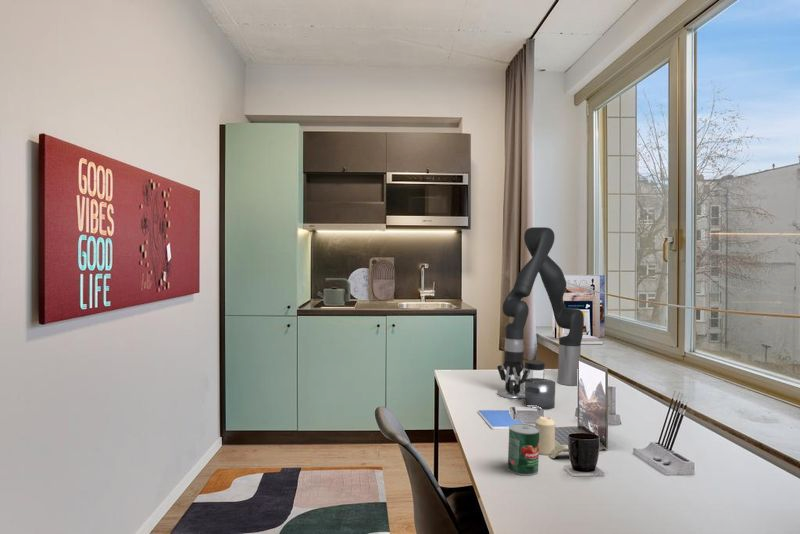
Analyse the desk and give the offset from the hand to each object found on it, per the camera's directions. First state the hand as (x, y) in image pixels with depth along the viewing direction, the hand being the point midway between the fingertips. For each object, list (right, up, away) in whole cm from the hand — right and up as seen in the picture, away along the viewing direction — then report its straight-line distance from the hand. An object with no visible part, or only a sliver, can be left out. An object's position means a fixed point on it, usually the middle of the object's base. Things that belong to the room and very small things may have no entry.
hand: (512, 392), depth 216 cm
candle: (-4, -3, -61) cm, 61 cm away
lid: (0, -1, 0) cm, 1 cm away
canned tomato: (-13, -3, -74) cm, 75 cm away
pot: (+7, -2, -13) cm, 15 cm away
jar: (+10, -2, +8) cm, 14 cm away
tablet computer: (-11, -3, -32) cm, 34 cm away
